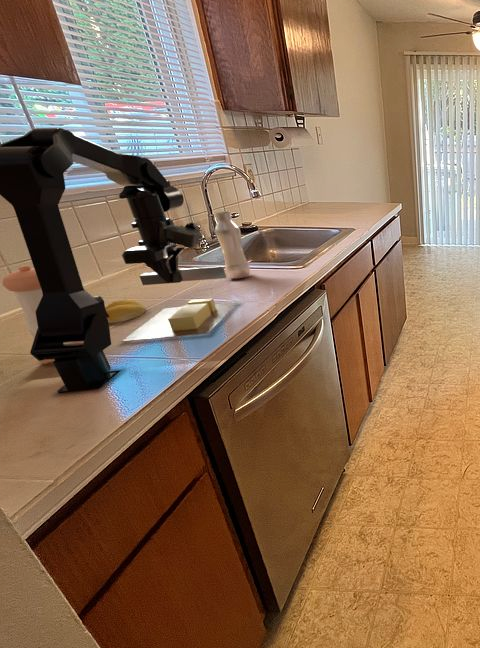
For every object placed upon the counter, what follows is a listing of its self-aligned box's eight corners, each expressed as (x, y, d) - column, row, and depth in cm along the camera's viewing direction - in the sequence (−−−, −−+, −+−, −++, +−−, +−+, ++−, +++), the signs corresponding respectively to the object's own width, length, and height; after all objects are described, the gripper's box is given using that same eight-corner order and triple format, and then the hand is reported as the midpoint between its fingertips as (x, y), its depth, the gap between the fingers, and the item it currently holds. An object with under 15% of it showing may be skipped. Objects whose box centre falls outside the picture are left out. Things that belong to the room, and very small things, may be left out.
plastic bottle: (235, 274, 128) (218, 210, 119) (256, 274, 127) (240, 210, 119) (223, 280, 122) (203, 214, 114) (244, 281, 122) (226, 214, 113)
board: (209, 336, 88) (208, 333, 88) (122, 344, 85) (121, 341, 85) (237, 305, 104) (236, 302, 104) (165, 311, 101) (164, 308, 101)
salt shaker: (42, 356, 81) (-7, 266, 73) (90, 343, 86) (49, 258, 78) (45, 369, 77) (-6, 275, 69) (95, 354, 82) (52, 265, 74)
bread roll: (104, 328, 93) (97, 313, 91) (104, 316, 99) (97, 301, 97) (148, 318, 98) (142, 303, 96) (146, 307, 104) (140, 293, 102)
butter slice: (213, 312, 98) (210, 301, 97) (191, 314, 98) (187, 302, 96) (216, 309, 100) (213, 298, 99) (194, 311, 99) (190, 300, 98)
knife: (228, 276, 100) (224, 265, 99) (224, 279, 98) (221, 267, 97) (147, 282, 97) (143, 270, 96) (142, 285, 95) (138, 273, 94)
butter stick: (196, 328, 90) (192, 316, 89) (172, 331, 89) (167, 319, 88) (211, 314, 97) (207, 303, 96) (188, 316, 96) (184, 305, 95)
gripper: (168, 222, 84) (191, 291, 90) (205, 207, 100) (223, 266, 107) (108, 225, 82) (136, 296, 88) (156, 209, 98) (177, 270, 105)
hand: (172, 280), depth 97 cm, fingers closed on knife, 2 cm apart
